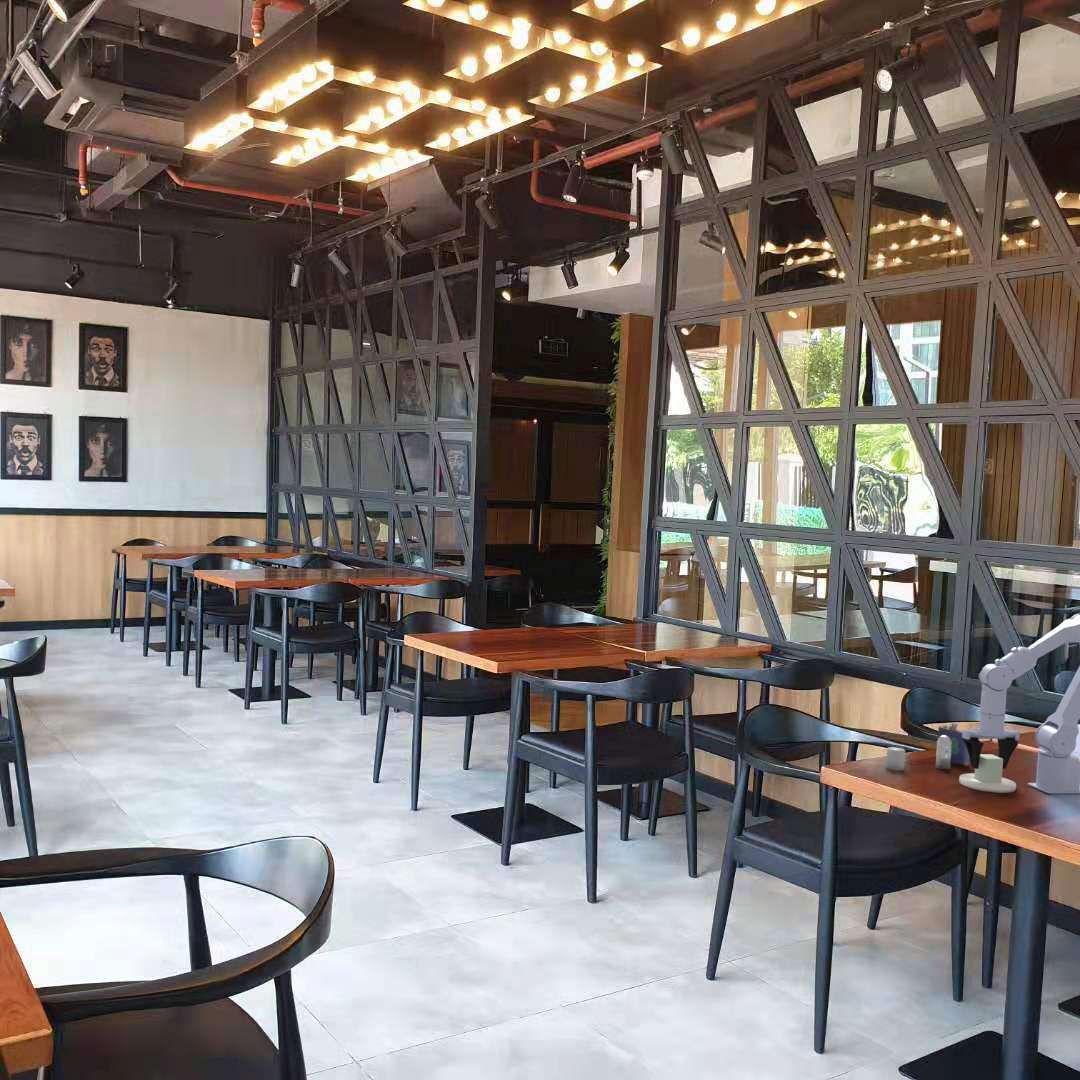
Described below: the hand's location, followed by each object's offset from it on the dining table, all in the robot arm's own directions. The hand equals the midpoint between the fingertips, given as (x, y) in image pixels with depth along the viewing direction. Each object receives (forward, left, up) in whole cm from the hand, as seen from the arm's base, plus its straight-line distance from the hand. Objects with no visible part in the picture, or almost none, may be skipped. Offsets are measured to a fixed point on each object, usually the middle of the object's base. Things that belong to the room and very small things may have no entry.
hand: (988, 767), depth 267 cm
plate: (0, 0, -4) cm, 4 cm away
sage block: (0, 0, -3) cm, 3 cm away
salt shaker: (+2, -16, -4) cm, 17 cm away
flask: (-4, -22, -5) cm, 23 cm away
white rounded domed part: (+16, -16, -4) cm, 23 cm away
